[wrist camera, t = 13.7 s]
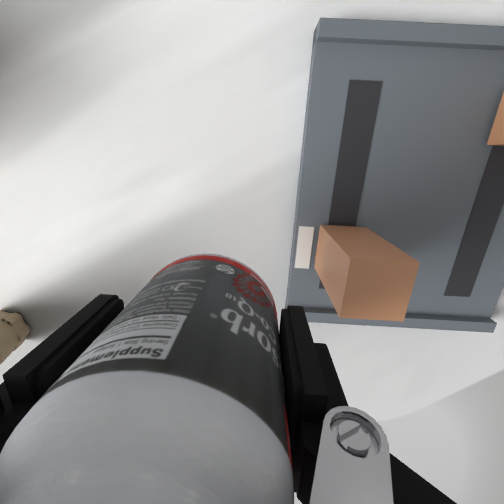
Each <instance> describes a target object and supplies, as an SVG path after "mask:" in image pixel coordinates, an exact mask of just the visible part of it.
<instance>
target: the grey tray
mask: <svg viewBox="0 0 504 504" xmlns="http://www.w3.org/2000/svg"><path fill="white" fill-rule="evenodd" d="M503 92H504V26H487V25H465V24H444V23H423V22H401V21H380V20H359V19H338V18H320V20H319V22H318V24H317V26H316V29H315V31H314V39H313V48H312V58H311V67H310V77H309V87H308V96H307V106H306V115H305V125H304V134H303V144H302V154H301V163H300V173H299V182H298V192H297V201H296V211H295V221H294V230H293V240H292V249H291V259H290V268H289V278H288V288H287V297H286V307H285V309H287V306H288V305H293V306H303V308H304V311H305V315H306V318H307V322H318V323H335V324H353V325H370V326H387V327H405V328H422V329H439V330H456V331H474V332H491V333H493V332H494V329H495V327H496V324H497V323H496V322H494V321H493V320H492V319H490V318H491V315H492V313H493V310H494V308H495V305H496V303H497V301H498V298H499V296H500V293H501V291H502V288H503V286H504V146H495V145H487V142H488V139H489V136H490V133H491V130H492V126H493V123H494V120H495V117H496V114H497V111H498V108H499V104H500V101H501V98H502V95H503ZM320 225H336V226H354V227H367V228H368V229H370V230H371V231H373V232H374V233H376V234H377V235H379V236H380V237H382V238H384V239H385V240H387V241H388V242H390V243H391V244H393V245H394V246H396V247H397V248H399V249H400V250H402V251H403V252H405V253H407V254H408V255H410V256H411V257H413V258H414V259H416V260H417V261H419V262H420V264H419V268H418V272H417V275H416V279H415V282H414V286H413V289H412V293H411V297H410V300H409V304H408V307H407V311H406V314H405V318H404V322H402V321H385V320H368V319H350V318H339V316H338V314H337V312H336V310H335V308H334V306H333V304H332V302H331V300H330V298H329V296H328V294H327V292H326V290H325V288H324V286H323V284H322V282H321V280H320V278H319V276H318V274H317V272H316V270H315V268H314V265H315V258H316V251H317V243H318V236H319V229H320Z"/></svg>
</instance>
